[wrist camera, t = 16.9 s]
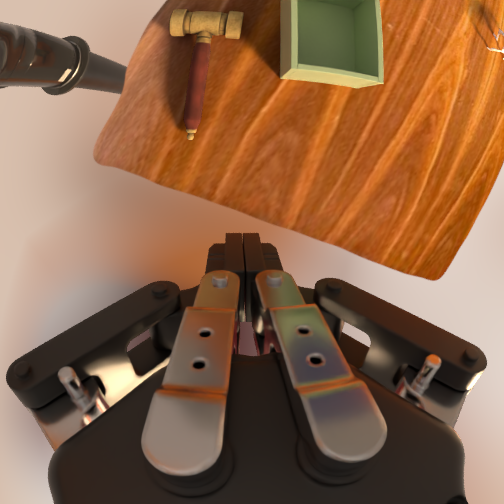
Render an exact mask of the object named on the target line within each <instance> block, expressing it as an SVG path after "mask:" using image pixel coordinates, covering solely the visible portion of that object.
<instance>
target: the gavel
mask: <svg viewBox="0 0 504 504" xmlns="http://www.w3.org/2000/svg"><path fill="white" fill-rule="evenodd" d="M243 15H244V14H243V12H236V11H230V12H229V14H227V13H222V12H209V11H194V12H189V10H188V9H175V10H174V11H173V12H172V14H171V17H170V23H169V31H170V34H171V35H172V36H185V35H186V33H191V34H197V39H196V44H195V46H194V49H193V53H192V60H191V66H190V73H189V80H188V87H187V95H186V103H185V112H184V122H185V127H186V132H188V135H187V139H189V140H193V138H194V135H193V133H195V132H196V130H197V127H198V125H199V123H200V121H201V115H202V107H203V99H204V92H205V85H206V78H207V71H208V64H209V58H210V52H211V51H210V43H211V38H212V35H217V36H219V35H225V36H226V38H231V39H239V38H240V33H241V28H242V22H243Z"/></svg>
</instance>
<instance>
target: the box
mask: <svg viewBox="0 0 504 504" xmlns="http://www.w3.org/2000/svg"><path fill="white" fill-rule="evenodd" d="M280 79H292V80H303V81H312V82H321V83H328V84H335V85H342V86H348V87H353V88H361V87H366V86H372V85H377V84H383V41H382V24H381V12H380V2H379V0H280Z"/></svg>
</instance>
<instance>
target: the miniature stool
mask: <svg viewBox="0 0 504 504" xmlns="http://www.w3.org/2000/svg"><path fill="white" fill-rule="evenodd" d="M500 33H501V34H502V35H503V37H504V33H503V32H502V31H501V30H500V29H499V32H498V36H497V37H496V36H495V34H493V35H494V37H495V38H496V40H497V39H498V37H499V34H500ZM487 48H488V49H489V50H490V51H497V52H503V53H504V47H503V49H502V50H498V49H495V48H491V49H490V48H489V47H487ZM503 59H504V58H503Z"/></svg>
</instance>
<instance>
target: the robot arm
mask: <svg viewBox="0 0 504 504" xmlns="http://www.w3.org/2000/svg"><path fill="white" fill-rule="evenodd" d="M81 62H82V51H81V49H80V47H79V46H78V45H77V44H76V43H74V42H70V41H66V40H64V39H61V38H58V37H55V36H52V35H49V34H45V33H42V32H39V31H36V30H32V29H28V28H25V27H21V26H17V25H13V24H8V23H3V22H0V88H5V87H8V86H29V87H47V88H55V89H56V88H61V87H64V86H65V85H67V84H68V83H69V82H71V81H72V80H73V78H74V77H75V76H76V74H77V73H78V71H79V69H80V66H81ZM244 302H245V316H246V322H252V327H253V329H254V341H255V345H256V350H257V355H258V356H246V355H240V354H239V345H240V322H244ZM344 322H347V323H349V324H350V325H352V326H354V327H356V328H358V329H360V330H361V331H363V332H365V333H366V334H367V335H368V336H369V337H370V340H371V345H370V348H369V347H368V346H366V345H364V344H362V343H360V342H359V341H357V340H355V339H353V338H352V337H350V336H348V335H347V334H345V333H343V332H342V329H343V326H344ZM147 329H149V332H150V336H151V337H149V338H148V339H147V340H145V341H143V342H142V343H140V344H139V345H137V346H136V347H134V348H133V349H131V350H130V351H128V352H127V346H128V344H129V343H130V341H131V340H132V339H134V338H135V337H137V336H138V335H140V334H141V333H143V332H145V331H146V330H147ZM486 366H487V360H486V357H485V355H484V353H483V352H482V351H481V350H480V349H479V348H478V347H477V346H475V345H473V344H471V343H469V342H467V341H465V340H463V339H461V338H459V337H457V336H455V335H453V334H451V333H449V332H447V331H445V330H443V329H441V328H439V327H437V326H435V325H433V324H431V323H429V322H427V321H425V320H423V319H421V318H419V317H417V316H415V315H413V314H411V313H409V312H407V311H405V310H403V309H401V308H399V307H397V306H395V305H392V304H391V303H388V302H386V301H384V300H382V299H380V298H378V297H376V296H374V295H372V294H370V293H368V292H366V291H364V290H361V289H359V288H357V287H355V286H353V285H351V284H349V283H347V282H345V281H343V280H340V279H336V278H325V279H321V280H319V281H317V283H316V284H315V289H311V288H304V287H300V286H297V285H296V283H295V281H294V279H293V277H292V276H291V275H290V274H289V273H287V272H284V271H283V268H282V265H281V262H280V259H279V255H278V252H277V249H276V248H275V247H274V246H273V245H272V244H270V243H261V242H260V237H259V234H258V233H243V245H242V234H241V233H226V243H225V244H214V245H213V246H211V247H210V248H209V253H208V259H207V265H206V272H205V275H204V276H203V277H202V279H201V282H200V284H199V285H198V286H196V287H194V288H191V289H186V290H181V291H180V289H179V287H178V285H177V284H175V283H173V282H170V281H157V282H153V283H150V284H148V285H146V286H144V287H143V288H141V289H139V290H137V291H135V292H134V293H132V294H130V295H128V296H126V297H125V298H123V299H121V300H119V301H117V302H116V303H114V304H112V305H110V306H108V307H107V308H105V309H103V310H101V311H100V312H98V313H96V314H94V315H92V316H91V317H89V318H87V319H85V320H84V321H82V322H80V323H78V324H77V325H75V326H73V327H71V328H70V329H68V330H66V331H64V332H63V333H61V334H59V335H57V336H56V337H54V338H52V339H51V340H49V341H47V342H45V343H44V344H42V345H40V346H39V347H37V348H35V349H33V350H32V351H30V352H28V353H27V354H25V355H23V356H22V357H20V358H18V359H17V360H15V361H14V362H13V363H12V364H11V365H10V367H9V369H8V371H7V374H6V381H7V383H8V385H9V387H10V388H11V389H12V391H13V392H14V393H15V395H16V396H17V397H18V398H19V400H20V401H21V402H22V403H23V405H24V406H25V407H26V408H27V409H28V411H29V412H30V413H31V414H32V415H33V417H34V418H35V419H36V421H37V423H38V424H39V426H40V428H41V430H42V432H43V433H44V435H45V437H46V438H47V440H48V442H49V443H50V445H51V446H52V448H53V449H54V451H55V452H54V454H53V456H52V458H51V460H50V464H49V468H48V482H49V487H50V490H51V494H52V497H53V501H54V504H468V502H467V500H466V497H465V490H464V462H465V454H464V448H463V444H462V442H461V439H460V437H459V436H458V434H457V433H456V431H455V430H454V429H453V428H454V426H455V423H456V421H457V419H458V416H459V413H460V411H461V409H462V406H463V403H464V400H465V398H466V396H467V395H468V393H469V392H470V391H471V390H472V388H473V387H474V384H475V382H476V381H477V379H478V378H479V377H480V375H481V374H482V373H483V371H484V369H485V368H486Z"/></svg>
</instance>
